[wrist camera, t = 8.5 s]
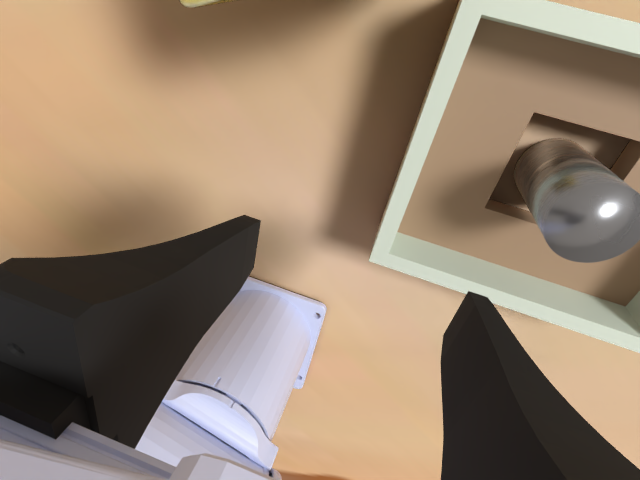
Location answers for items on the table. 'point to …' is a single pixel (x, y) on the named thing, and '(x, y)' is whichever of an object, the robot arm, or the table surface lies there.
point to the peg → (578, 202)
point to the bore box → (496, 150)
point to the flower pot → (201, 2)
